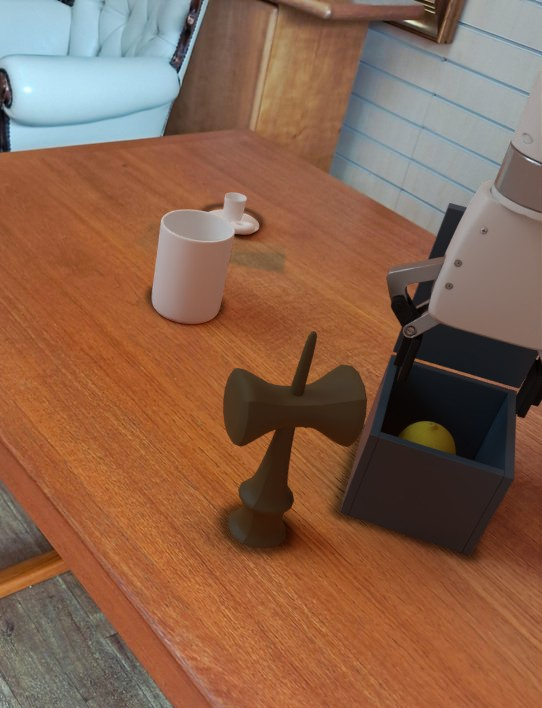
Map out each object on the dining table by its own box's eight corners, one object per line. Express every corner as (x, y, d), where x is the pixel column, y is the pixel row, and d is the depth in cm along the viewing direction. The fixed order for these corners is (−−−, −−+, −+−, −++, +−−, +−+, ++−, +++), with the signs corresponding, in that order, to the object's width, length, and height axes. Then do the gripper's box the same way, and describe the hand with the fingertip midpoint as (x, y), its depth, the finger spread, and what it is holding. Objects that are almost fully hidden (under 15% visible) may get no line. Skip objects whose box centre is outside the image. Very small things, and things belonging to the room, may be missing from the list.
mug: (161, 272, 100) (171, 191, 93) (225, 284, 100) (240, 204, 93) (145, 318, 91) (155, 233, 84) (215, 331, 91) (231, 247, 84)
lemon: (371, 494, 73) (384, 424, 67) (404, 466, 76) (420, 397, 70) (423, 523, 70) (442, 452, 64) (456, 492, 73) (477, 422, 67)
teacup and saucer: (256, 243, 110) (262, 215, 108) (200, 233, 111) (205, 204, 108) (260, 219, 117) (266, 191, 114) (207, 209, 117) (212, 181, 114)
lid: (600, 246, 60) (601, 212, 63) (448, 207, 62) (456, 176, 65) (519, 389, 71) (523, 354, 74) (392, 352, 73) (402, 319, 76)
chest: (466, 563, 68) (514, 479, 62) (336, 520, 70) (369, 433, 63) (474, 472, 78) (517, 390, 71) (360, 436, 80) (391, 353, 73)
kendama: (318, 558, 66) (395, 355, 53) (208, 564, 64) (259, 355, 51) (296, 508, 71) (362, 309, 57) (192, 513, 68) (235, 307, 55)
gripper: (681, 196, 55) (566, 398, 66) (433, 137, 57) (364, 340, 69) (697, 237, 49) (569, 448, 61) (422, 169, 52) (350, 383, 64)
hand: (460, 391), depth 65 cm, fingers open, 9 cm apart
